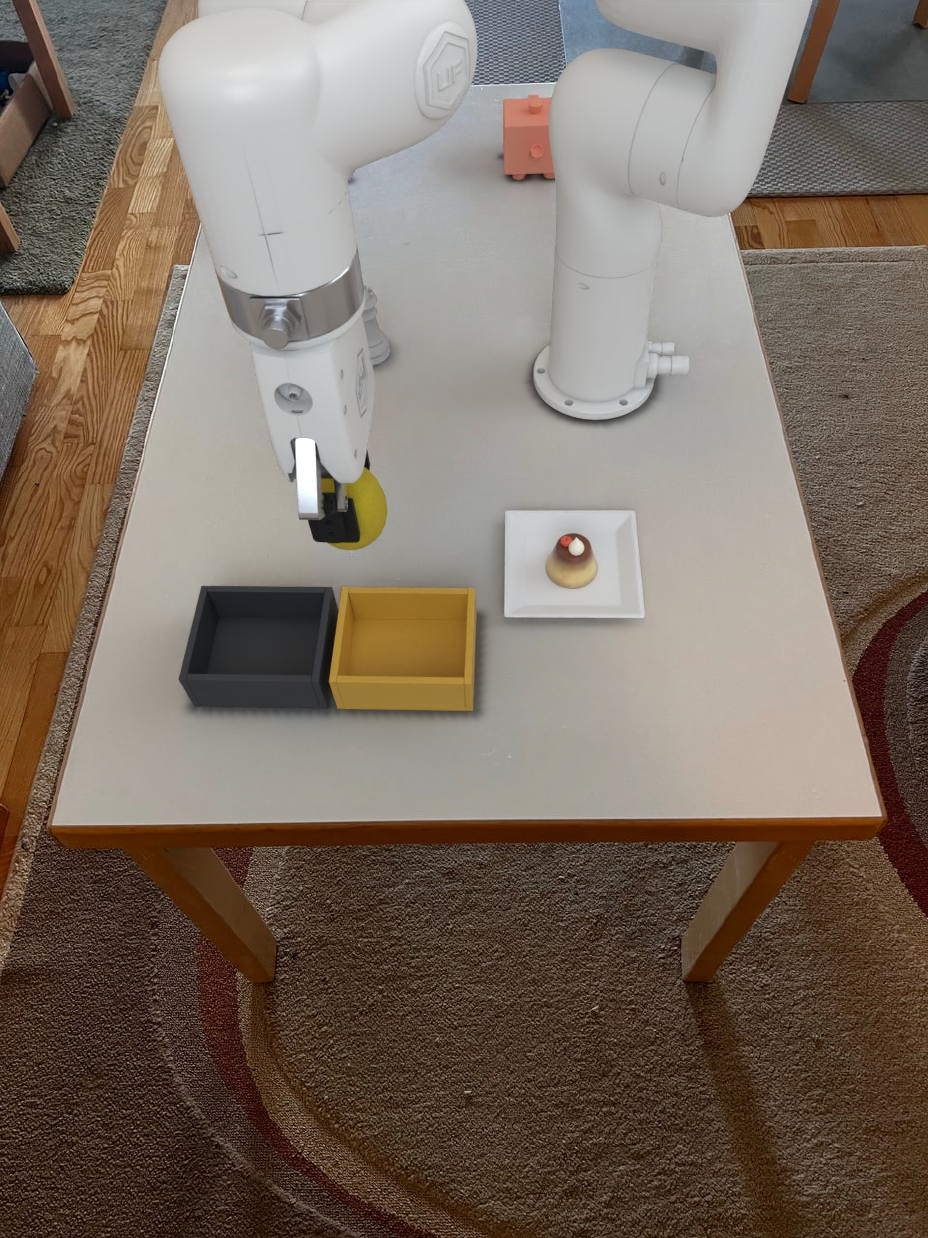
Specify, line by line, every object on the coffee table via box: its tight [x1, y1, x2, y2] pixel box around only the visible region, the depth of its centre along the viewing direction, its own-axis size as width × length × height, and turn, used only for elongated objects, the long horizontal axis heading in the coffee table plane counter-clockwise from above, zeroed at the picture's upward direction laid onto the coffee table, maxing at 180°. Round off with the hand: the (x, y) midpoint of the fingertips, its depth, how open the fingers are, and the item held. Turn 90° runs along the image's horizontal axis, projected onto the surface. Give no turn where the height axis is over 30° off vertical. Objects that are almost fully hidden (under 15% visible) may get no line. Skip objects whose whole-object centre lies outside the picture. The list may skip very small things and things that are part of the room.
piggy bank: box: [502, 94, 555, 181], centre depth 115 cm, size 8×12×8 cm, turn 0°
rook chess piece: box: [362, 284, 391, 367], centre depth 96 cm, size 4×4×8 cm
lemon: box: [321, 467, 388, 551], centre depth 64 cm, size 6×6×8 cm
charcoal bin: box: [178, 585, 339, 710], centre depth 76 cm, size 11×9×4 cm
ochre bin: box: [329, 586, 477, 712], centre depth 75 cm, size 11×9×4 cm
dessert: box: [503, 509, 646, 619], centre depth 80 cm, size 12×12×5 cm
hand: (342, 502), depth 64 cm, fingers closed on lemon, 5 cm apart
